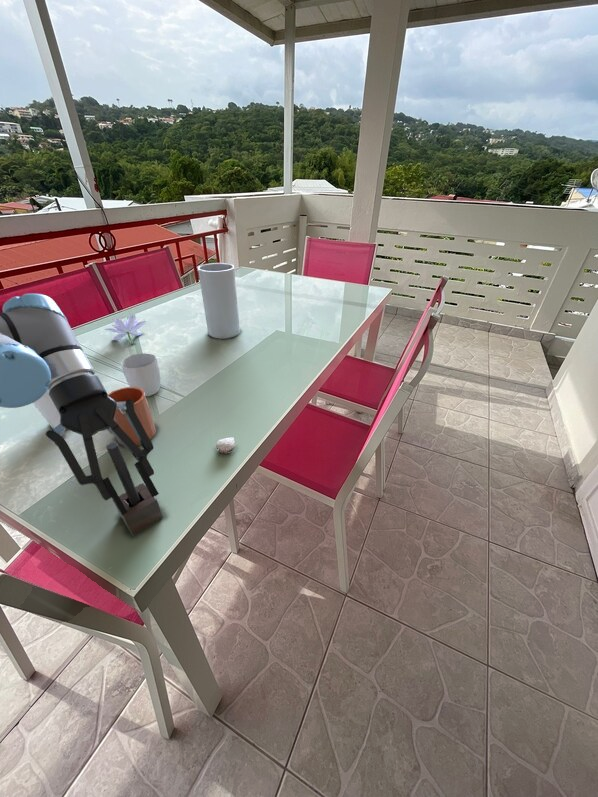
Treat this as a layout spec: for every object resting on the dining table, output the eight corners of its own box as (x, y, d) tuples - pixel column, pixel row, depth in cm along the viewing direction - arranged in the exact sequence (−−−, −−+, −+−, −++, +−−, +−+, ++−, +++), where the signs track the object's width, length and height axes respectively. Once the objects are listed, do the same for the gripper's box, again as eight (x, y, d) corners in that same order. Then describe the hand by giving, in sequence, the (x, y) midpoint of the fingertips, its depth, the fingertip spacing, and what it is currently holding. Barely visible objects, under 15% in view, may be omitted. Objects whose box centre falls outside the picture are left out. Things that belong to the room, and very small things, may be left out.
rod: (135, 519, 61) (103, 447, 51) (141, 512, 62) (112, 441, 52) (142, 521, 60) (111, 450, 50) (148, 515, 62) (120, 443, 52)
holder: (120, 516, 61) (112, 499, 58) (149, 499, 65) (143, 482, 62) (133, 536, 58) (125, 519, 55) (163, 517, 61) (157, 499, 59)
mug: (158, 399, 93) (150, 368, 87) (126, 399, 92) (115, 368, 87) (171, 376, 103) (164, 347, 97) (141, 376, 103) (133, 347, 97)
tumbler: (109, 440, 78) (93, 403, 72) (136, 420, 85) (123, 384, 79) (138, 450, 76) (124, 412, 70) (163, 428, 82) (152, 391, 76)
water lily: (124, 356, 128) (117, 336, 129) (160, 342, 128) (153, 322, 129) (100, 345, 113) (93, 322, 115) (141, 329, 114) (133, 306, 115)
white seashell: (213, 452, 76) (211, 444, 74) (225, 439, 79) (224, 431, 78) (229, 457, 74) (228, 449, 73) (241, 444, 78) (240, 436, 77)
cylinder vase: (214, 342, 124) (204, 273, 110) (204, 330, 133) (193, 265, 119) (245, 335, 129) (239, 268, 115) (233, 324, 138) (226, 261, 124)
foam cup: (94, 419, 85) (76, 375, 78) (57, 439, 79) (32, 394, 71) (74, 407, 89) (55, 365, 82) (37, 425, 83) (12, 381, 75)
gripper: (124, 372, 63) (183, 478, 63) (13, 410, 53) (83, 537, 53) (127, 357, 57) (193, 474, 57) (3, 396, 47) (82, 539, 47)
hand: (140, 504), depth 55 cm, fingers open, 4 cm apart
